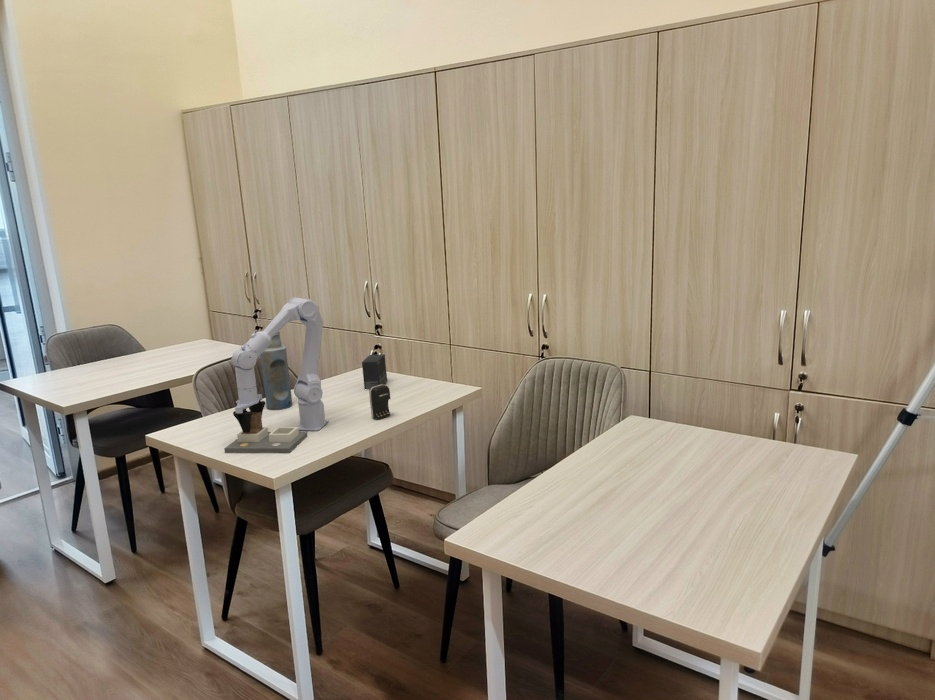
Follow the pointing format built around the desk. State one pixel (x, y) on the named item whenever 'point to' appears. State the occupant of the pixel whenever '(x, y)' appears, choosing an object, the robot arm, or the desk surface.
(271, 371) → the bottle
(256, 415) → the walnut peg
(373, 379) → the small box
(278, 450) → the socket board
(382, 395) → the battery charger
